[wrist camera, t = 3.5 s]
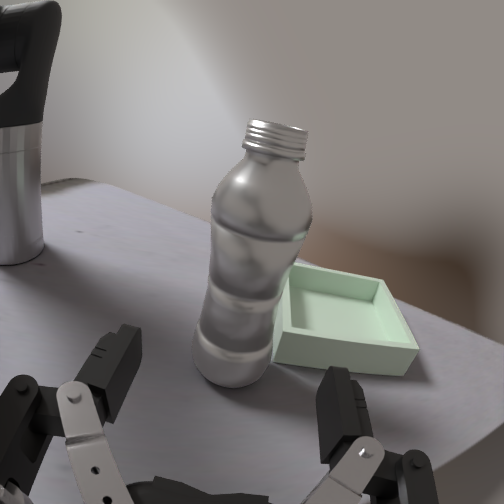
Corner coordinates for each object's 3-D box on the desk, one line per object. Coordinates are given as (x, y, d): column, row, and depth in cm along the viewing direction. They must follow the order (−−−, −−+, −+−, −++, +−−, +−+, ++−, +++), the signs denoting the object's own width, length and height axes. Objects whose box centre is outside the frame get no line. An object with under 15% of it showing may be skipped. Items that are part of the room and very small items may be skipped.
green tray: (272, 361, 28) (282, 331, 27) (274, 285, 41) (281, 259, 39) (403, 376, 28) (419, 349, 27) (373, 303, 41) (383, 280, 40)
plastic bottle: (228, 335, 31) (270, 121, 22) (279, 375, 27) (351, 142, 18) (174, 360, 26) (201, 111, 18) (226, 411, 22) (291, 129, 14)
